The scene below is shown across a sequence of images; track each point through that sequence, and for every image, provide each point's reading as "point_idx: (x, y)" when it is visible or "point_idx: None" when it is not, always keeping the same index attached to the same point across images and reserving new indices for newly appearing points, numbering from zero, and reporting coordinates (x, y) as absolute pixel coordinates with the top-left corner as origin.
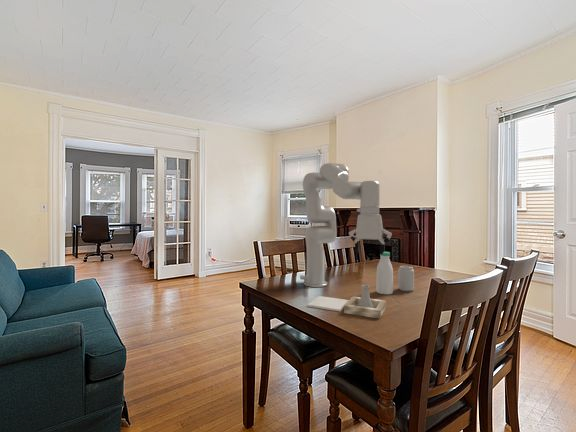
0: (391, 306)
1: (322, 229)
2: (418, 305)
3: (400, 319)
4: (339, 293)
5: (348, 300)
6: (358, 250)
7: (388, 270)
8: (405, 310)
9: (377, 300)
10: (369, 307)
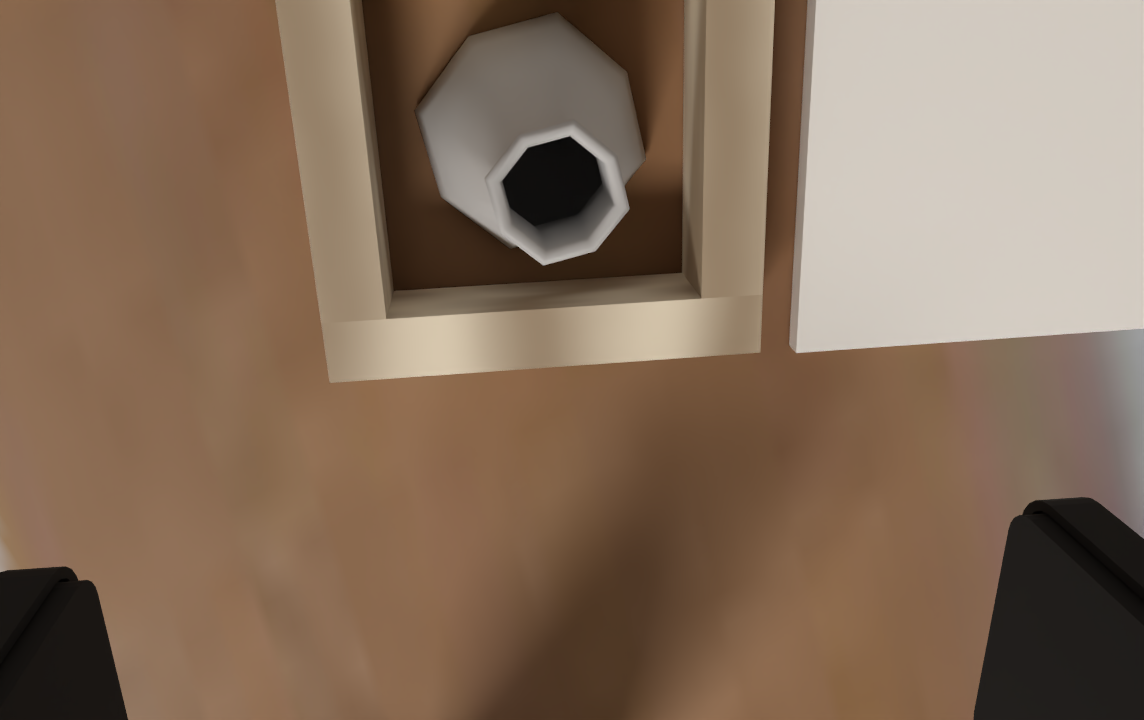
0: (298, 424)
1: None
2: None
3: (57, 5)
4: (950, 581)
5: (796, 339)
6: (1044, 628)
7: None
8: (114, 364)
9: (427, 332)
10: (466, 77)
